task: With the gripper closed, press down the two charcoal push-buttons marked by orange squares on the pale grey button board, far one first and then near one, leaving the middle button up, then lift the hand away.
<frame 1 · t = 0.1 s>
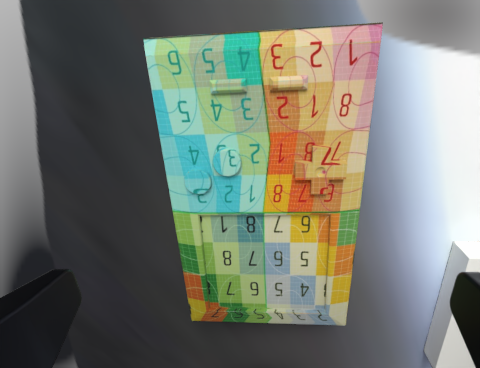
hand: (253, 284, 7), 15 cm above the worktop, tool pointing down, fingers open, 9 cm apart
puzzle game: (264, 182, 23), on the worktop
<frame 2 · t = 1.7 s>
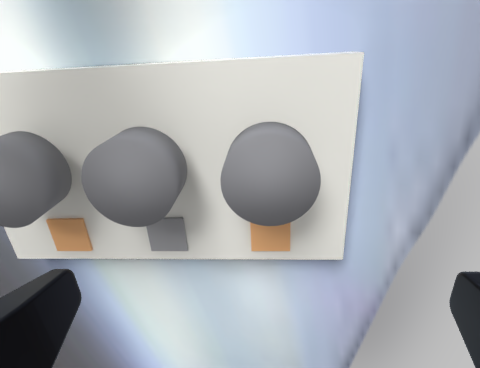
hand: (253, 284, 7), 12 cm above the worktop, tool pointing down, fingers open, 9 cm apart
button middle: (138, 176, 15), point 4 cm above the worktop, slide at 0.0 cm
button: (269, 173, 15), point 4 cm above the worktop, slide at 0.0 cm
button board: (167, 163, 20), on the worktop
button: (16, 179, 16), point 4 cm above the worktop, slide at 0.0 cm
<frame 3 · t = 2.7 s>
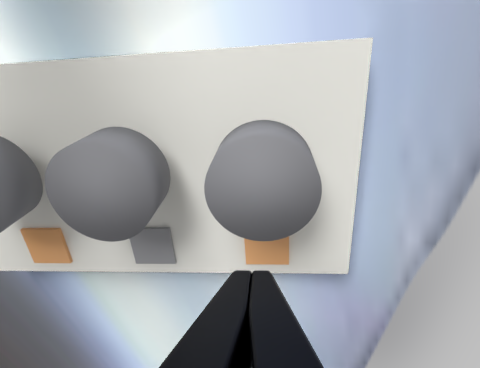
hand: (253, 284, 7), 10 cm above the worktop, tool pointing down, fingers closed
button middle: (112, 183, 13), point 4 cm above the worktop, slide at 0.0 cm
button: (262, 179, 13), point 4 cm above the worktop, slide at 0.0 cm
button board: (152, 167, 18), on the worktop
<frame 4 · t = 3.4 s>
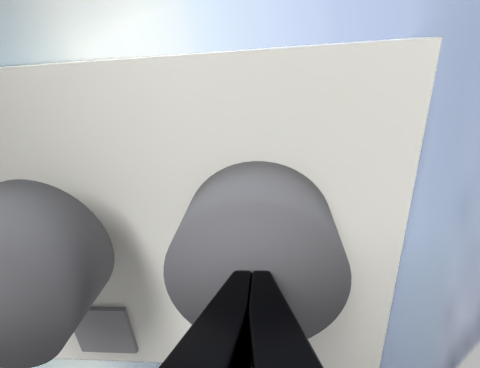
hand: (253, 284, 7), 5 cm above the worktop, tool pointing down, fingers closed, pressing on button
button middle: (14, 272, 8), point 4 cm above the worktop, slide at 0.0 cm
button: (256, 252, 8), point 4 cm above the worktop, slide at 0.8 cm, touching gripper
button board: (103, 218, 13), on the worktop
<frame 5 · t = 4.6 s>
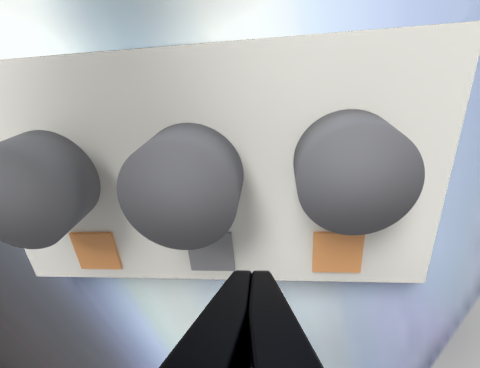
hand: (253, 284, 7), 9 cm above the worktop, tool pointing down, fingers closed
button middle: (185, 185, 12), point 4 cm above the worktop, slide at 0.0 cm
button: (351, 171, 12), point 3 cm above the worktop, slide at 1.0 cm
button board: (209, 166, 16), on the worktop
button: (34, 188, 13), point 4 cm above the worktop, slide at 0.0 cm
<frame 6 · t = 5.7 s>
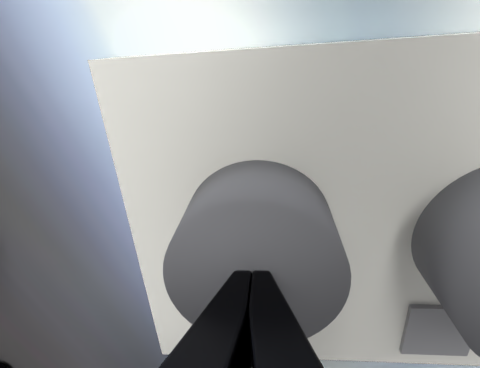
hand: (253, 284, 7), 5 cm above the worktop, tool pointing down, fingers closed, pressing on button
button board: (432, 208, 12), on the worktop
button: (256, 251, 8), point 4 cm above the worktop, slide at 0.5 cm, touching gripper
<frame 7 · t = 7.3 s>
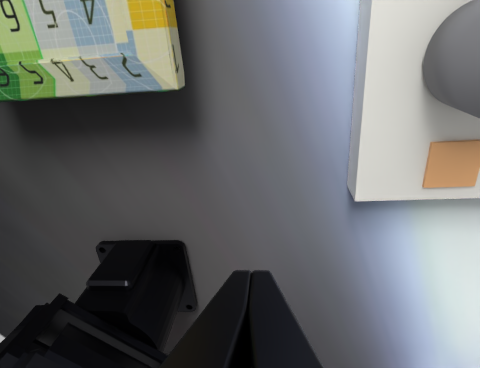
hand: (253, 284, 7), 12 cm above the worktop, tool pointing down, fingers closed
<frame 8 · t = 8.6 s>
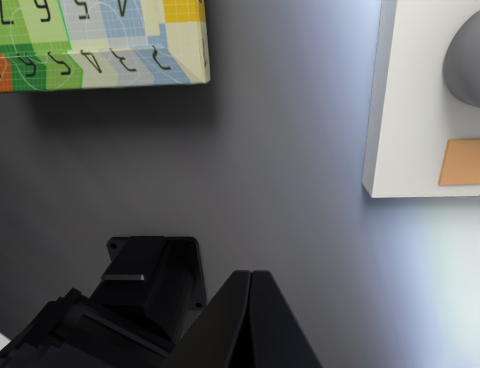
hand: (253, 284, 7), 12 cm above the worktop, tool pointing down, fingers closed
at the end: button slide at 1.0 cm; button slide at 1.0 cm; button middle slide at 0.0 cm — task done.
